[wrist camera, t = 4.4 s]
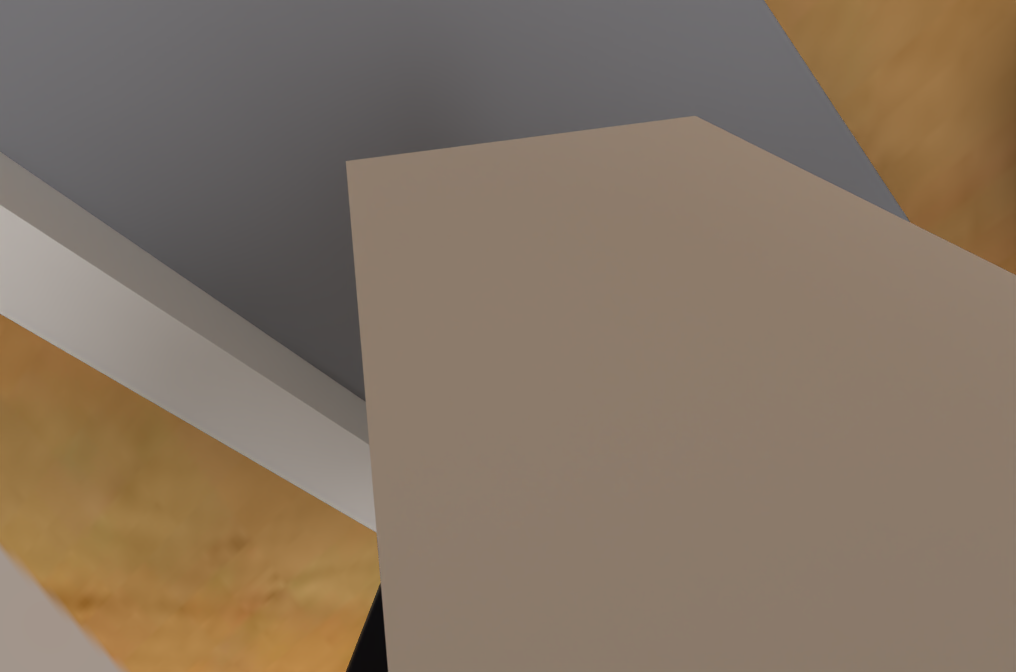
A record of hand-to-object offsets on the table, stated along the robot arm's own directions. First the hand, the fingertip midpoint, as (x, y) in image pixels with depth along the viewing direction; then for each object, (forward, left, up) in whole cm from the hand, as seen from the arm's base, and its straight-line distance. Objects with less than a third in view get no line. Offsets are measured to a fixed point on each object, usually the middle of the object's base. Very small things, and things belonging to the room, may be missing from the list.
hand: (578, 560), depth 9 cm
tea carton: (0, 0, -2) cm, 2 cm away
